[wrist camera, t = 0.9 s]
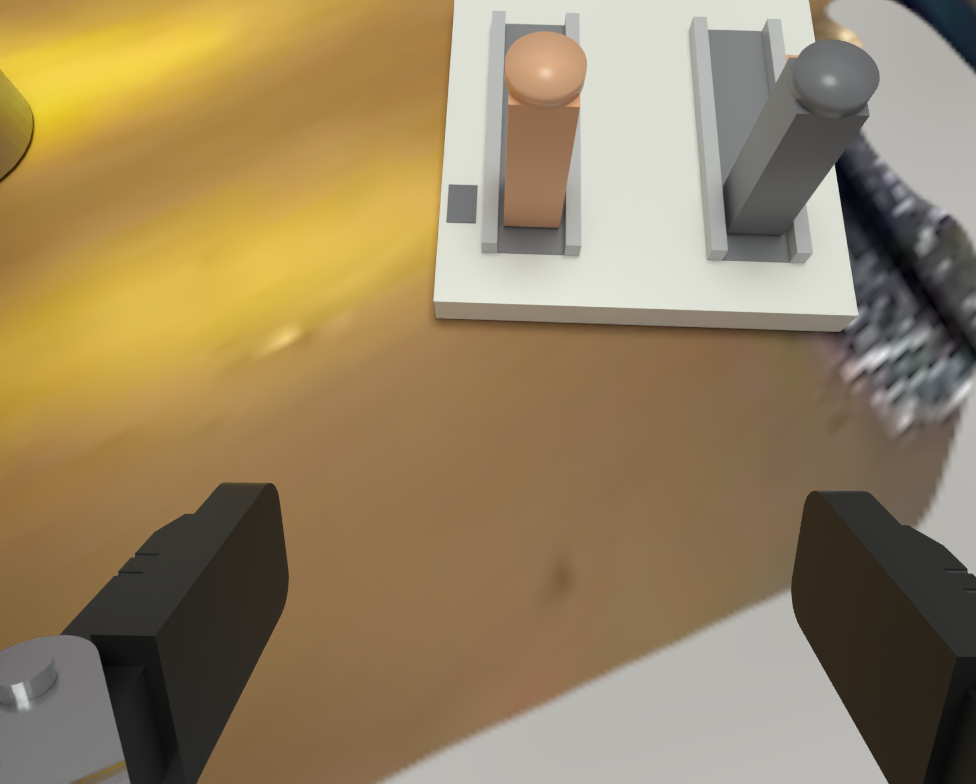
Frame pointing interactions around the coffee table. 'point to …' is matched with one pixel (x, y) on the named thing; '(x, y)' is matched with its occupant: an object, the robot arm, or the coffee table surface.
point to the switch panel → (635, 174)
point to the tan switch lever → (540, 125)
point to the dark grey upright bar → (799, 136)
